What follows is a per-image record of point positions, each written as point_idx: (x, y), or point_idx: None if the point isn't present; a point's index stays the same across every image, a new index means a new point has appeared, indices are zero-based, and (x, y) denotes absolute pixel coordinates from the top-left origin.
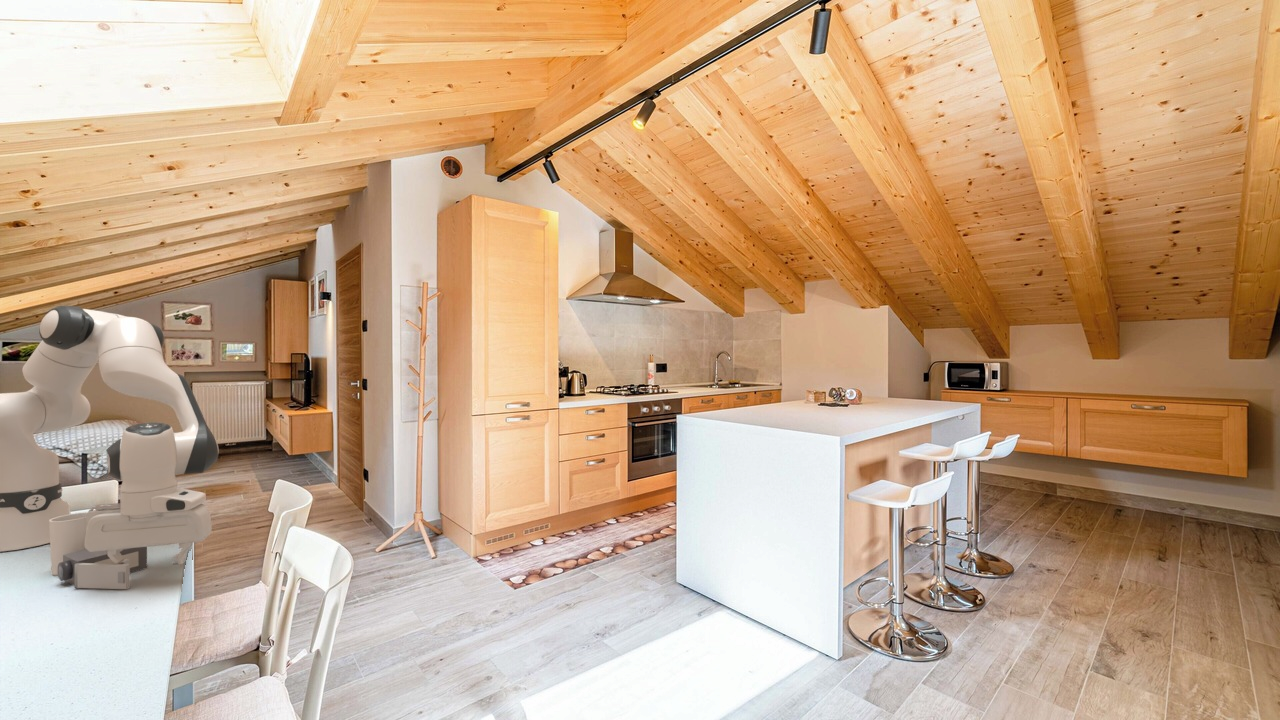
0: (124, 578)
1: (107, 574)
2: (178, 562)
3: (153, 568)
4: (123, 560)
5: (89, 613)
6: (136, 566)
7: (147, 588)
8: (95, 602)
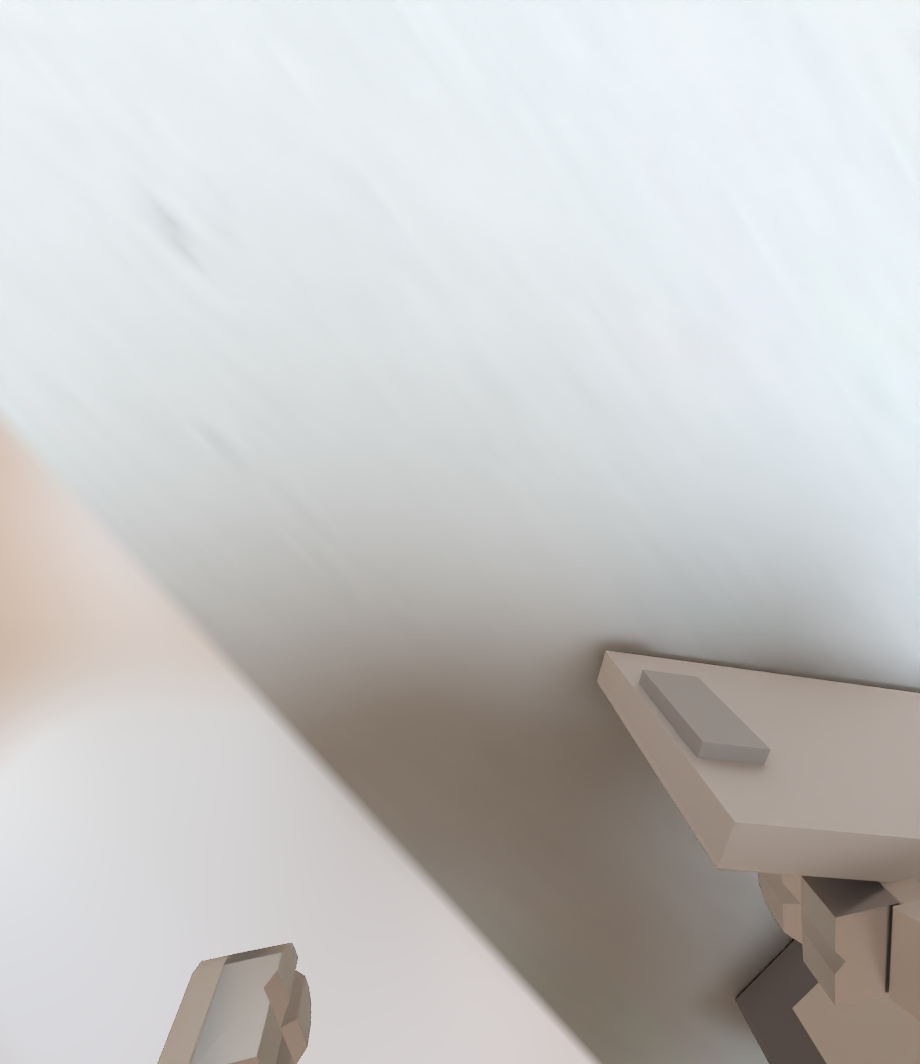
0: (661, 708)
1: (871, 757)
2: (217, 973)
3: (686, 994)
4: (866, 955)
5: (563, 163)
6: (799, 997)
7: (447, 673)
8: (687, 429)
